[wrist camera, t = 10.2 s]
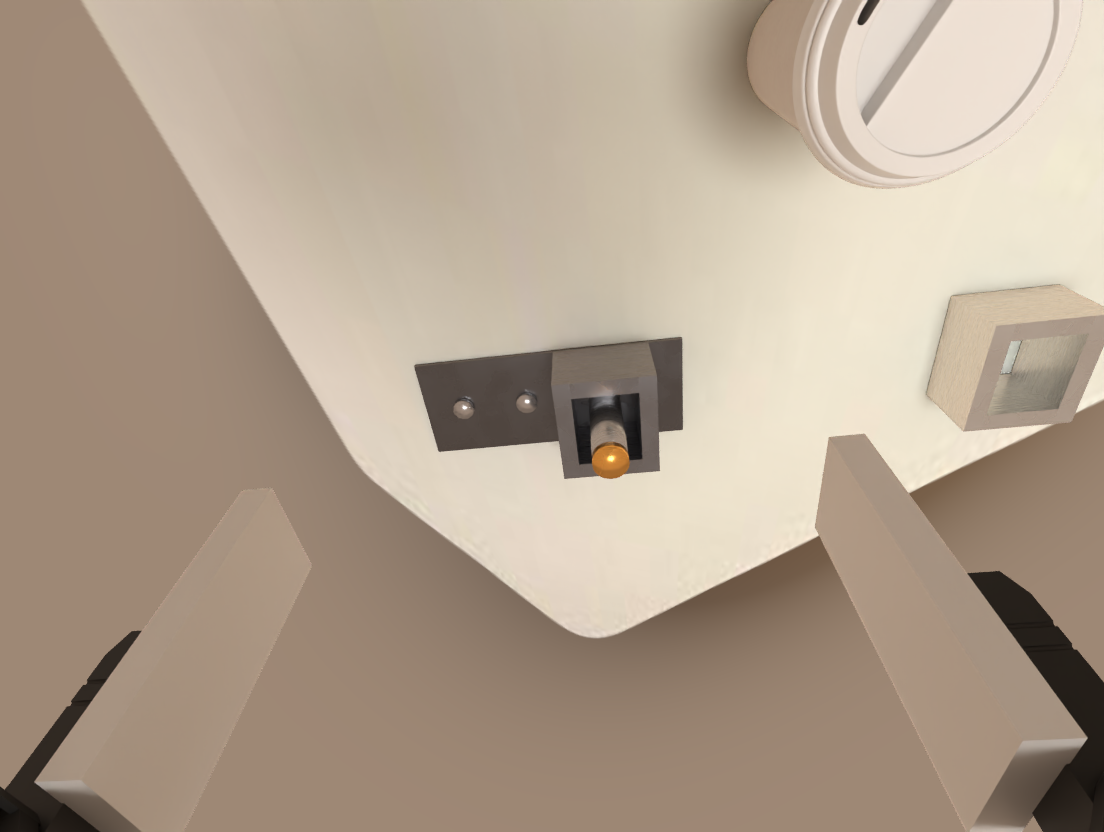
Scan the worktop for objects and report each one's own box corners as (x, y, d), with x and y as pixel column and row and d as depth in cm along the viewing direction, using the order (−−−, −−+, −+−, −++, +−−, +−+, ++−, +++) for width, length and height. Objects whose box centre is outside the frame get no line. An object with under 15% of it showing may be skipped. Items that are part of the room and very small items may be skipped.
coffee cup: (842, -111, 29) (1053, -226, 16) (925, 54, 33) (1149, 64, 20) (685, 44, 33) (759, 47, 20) (775, 177, 36) (886, 250, 24)
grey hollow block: (552, 351, 43) (551, 385, 39) (648, 342, 42) (656, 375, 38) (564, 439, 47) (564, 478, 43) (651, 432, 47) (659, 471, 42)
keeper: (415, 365, 44) (383, 433, 36) (681, 337, 42) (706, 402, 35) (439, 449, 48) (415, 526, 41) (682, 427, 47) (704, 503, 39)
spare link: (951, 296, 40) (996, 325, 36) (1059, 284, 40) (1117, 313, 35) (926, 394, 45) (963, 431, 40) (1023, 385, 44) (1071, 422, 40)
